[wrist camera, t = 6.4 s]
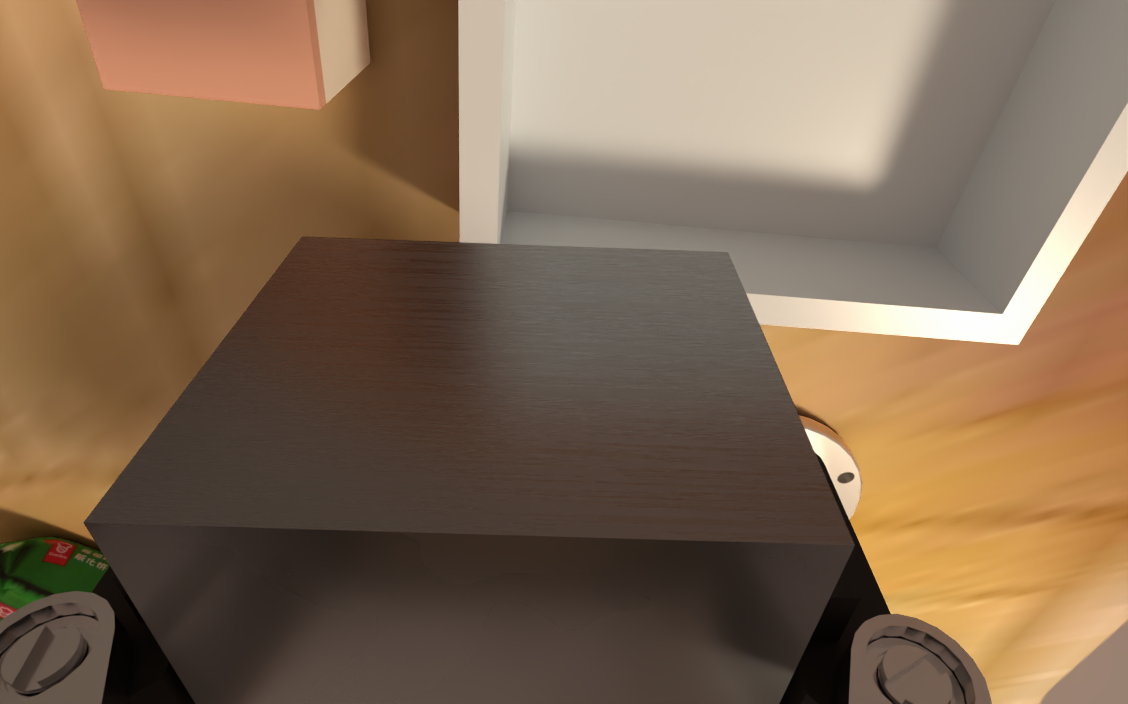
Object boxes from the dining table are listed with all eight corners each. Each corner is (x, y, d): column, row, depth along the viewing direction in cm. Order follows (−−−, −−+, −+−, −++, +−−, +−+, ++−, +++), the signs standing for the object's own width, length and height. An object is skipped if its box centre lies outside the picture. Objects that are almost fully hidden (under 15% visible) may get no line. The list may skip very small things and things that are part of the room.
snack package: (226, 642, 47) (193, 717, 43) (-14, 560, 41) (-79, 638, 37) (266, 597, 44) (235, 674, 39) (12, 502, 38) (-57, 580, 34)
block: (671, 526, 13) (719, 830, 9) (364, 518, 13) (266, 819, 8) (727, 252, 9) (855, 545, 5) (302, 236, 9) (82, 523, 5)
